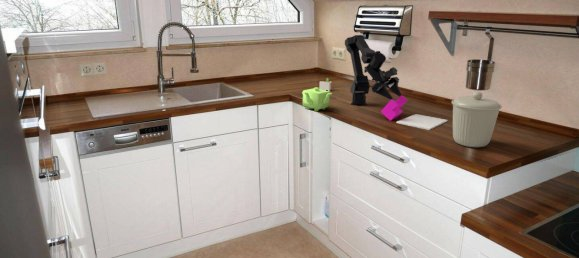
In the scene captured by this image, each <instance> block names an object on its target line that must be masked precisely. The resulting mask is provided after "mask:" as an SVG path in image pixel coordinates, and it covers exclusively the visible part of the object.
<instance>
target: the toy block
mask: <svg viewBox="0 0 579 258" xmlns="http://www.w3.org/2000/svg"><path fill="white" fill-rule="evenodd" d="M408 101H409V100H408V99H407V98H406V97H405V96H403V95H401V96H398V98H397V99H395V100H394V99H393V98H392V99H391V100H390V99H389V101H388V103H387V104H386V105H385V106H384V107H383V108H382V110H381V111H380V113H382V115H384V116H385V117H386V118H387V119H388V120H389V121H390V122H391V121H393V120H394V119H396V118H399V117H400V115H401V114H402V113H403V111H404V110H402V108H403V106H404V105H405V104H406V102H408Z"/></svg>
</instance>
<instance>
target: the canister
mask: <svg viewBox="0 0 579 258" xmlns="http://www.w3.org/2000/svg"><path fill="white" fill-rule="evenodd" d="M451 104H452V137H453V140H454V141H455V143H457V144H458V145H461V146H463V147H469V148H484V147H486V146H487V145H488V144H489V143H490V142H491V139H492V136H493V133H494V130H495V126H496V124H497V119H498V115H499V112H500V110H501V109H502V108H503V106H502V104H500V103H499V102H498V101H496V100H493V99H491V98H487V97H483V93H482V92H481V91H474V92H473V93H472V96H460V97H456V98H455V99H452V100H451Z"/></svg>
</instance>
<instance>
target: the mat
mask: <svg viewBox="0 0 579 258" xmlns="http://www.w3.org/2000/svg"><path fill="white" fill-rule="evenodd" d="M446 122H447V123H448V119H444V118H439V117H433V116H429V115H428V116H427V115H424V114H417V113H415V114H412V115H410V116H408V117H405V118H401V119H400V120H397V121H396V124H399V125H403V126H404V125H405V126H409V127H413V128H418V129H422V130H427V131H430V130H433V129H434V128H437V127H439V126H441V125H443V124H444V123H446Z"/></svg>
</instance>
